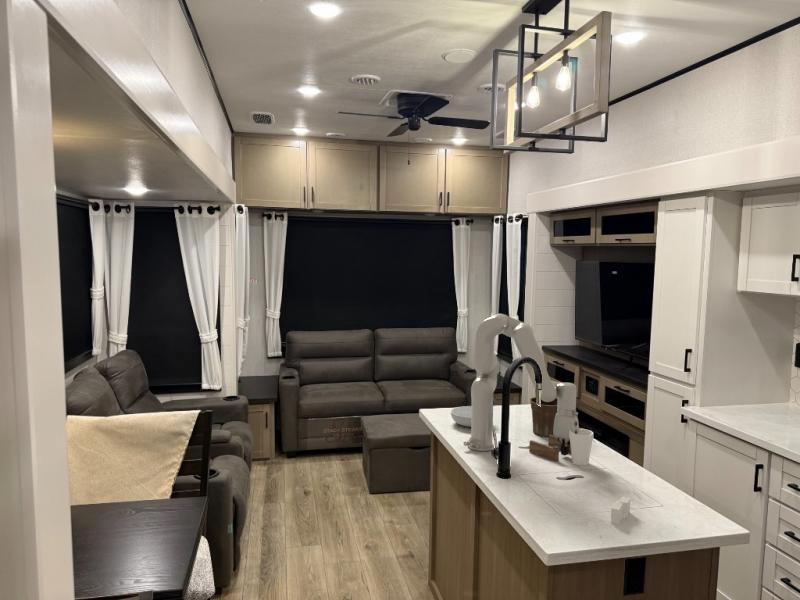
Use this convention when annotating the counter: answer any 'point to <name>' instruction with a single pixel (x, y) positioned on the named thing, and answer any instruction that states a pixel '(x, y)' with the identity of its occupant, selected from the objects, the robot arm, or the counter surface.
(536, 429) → the plant pot
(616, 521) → the napkin holder
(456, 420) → the serving bowl
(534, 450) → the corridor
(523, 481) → the counter surface
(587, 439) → the foam cup
